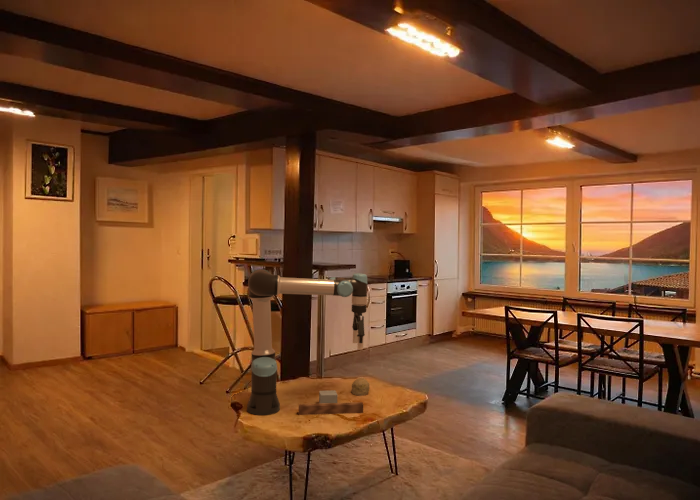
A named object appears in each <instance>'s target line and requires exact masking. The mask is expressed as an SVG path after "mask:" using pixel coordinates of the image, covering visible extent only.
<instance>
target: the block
mask: <svg viewBox="0 0 700 500" xmlns="http://www.w3.org/2000/svg"><path fill="white" fill-rule="evenodd" d="M318 391H319V392H318V395H319V396H318V404H319V403H338V397H339V396H338V393H337V390H318Z"/></svg>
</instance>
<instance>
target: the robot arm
mask: <svg viewBox="0 0 700 500" xmlns="http://www.w3.org/2000/svg"><path fill="white" fill-rule="evenodd" d="M247 280H248V281H247V282H248V283H247V285H248V298H249V299H250V300H251V301H252V318H253V323H252V325H253V343H254V344H253V345H254V346H253V348H254V349H253V350H252V351H251V367H250V370H251V379H250V380H251V381H250V387H251V388H250V389H251V391H250V396H249V398H248V403H247V405H246V411H247V412H248V413H249V414H252V415H255V416H256V415H258V416H265V415H266V416H269V415H273V414H276V413H278V412H279V411H280V409H281V406H280V401H279V397H278V393H277V379H278V378H277V373H278V372H277V371H278V365H277V363H278V362H277V361H276V360H277V359H276V358H277V357H276V350H275V349H274V348H273V339H272V338H273V337H272V336H273V334H272V312H271V311H272V309H271V308H272V307H271V306H272V305H271V300H272V299H273V298H274V296H275V297H276V296H278V295H280V294H282V295H283V294H284V295H312V296H313V295H314V296H316V295H317V296H332V297H333V296H336V297H342V298H348V297H350V296H351V312H352V313H353V319H352V320H353V321H352V326H351V327H352V344H357V345H356V347H357V350H364V337H365V320H364V318H365V317H364V315H363V314H365V313H366V312H367V309H368V308H367V302H368V301H367V300H369V298H368V275H367V274H366V273H353V274H352V276H351V277H341V276H340V277H337V276H335V277H329V278H328V279H323V278H321V279H320V278H301V277H300V278H299V277H298V278H297V277H284V276H283V277H281V276H280V275H278V274H273V273H272V274H271V272H270V271H269V270H266V269H264V268H259V269H255V270H253V271H252V272H251V273H250V274H249V276H248V279H247Z"/></svg>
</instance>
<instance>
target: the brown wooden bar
mask: <svg viewBox="0 0 700 500" xmlns="http://www.w3.org/2000/svg"><path fill="white" fill-rule="evenodd" d="M297 412H298V415H299V416H304V415H307V416H308V415H309V416H310V415H312V416H313V415H332V414H333V415H334V414H361V413H362V414H363V413H364V402H362V401H358V402H356V401H355V402H337V403H319V402H318V403H298V411H297Z"/></svg>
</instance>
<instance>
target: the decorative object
mask: <svg viewBox="0 0 700 500" xmlns="http://www.w3.org/2000/svg"><path fill="white" fill-rule="evenodd" d="M369 392H370V382H369V381H368V379H366V378H364V377H358V378H356V379H354V380H353V382H352V383H351V391H350V393H351V394H352V395H355V396H358V397H359V396H360V397H362V396H366V395H367V396H368V395H369Z"/></svg>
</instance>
